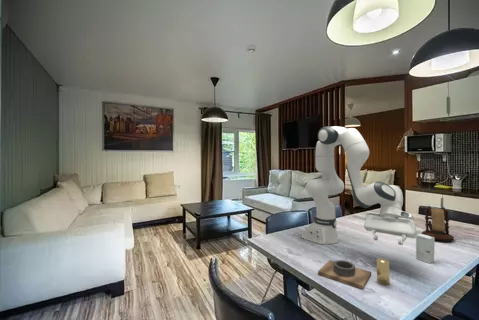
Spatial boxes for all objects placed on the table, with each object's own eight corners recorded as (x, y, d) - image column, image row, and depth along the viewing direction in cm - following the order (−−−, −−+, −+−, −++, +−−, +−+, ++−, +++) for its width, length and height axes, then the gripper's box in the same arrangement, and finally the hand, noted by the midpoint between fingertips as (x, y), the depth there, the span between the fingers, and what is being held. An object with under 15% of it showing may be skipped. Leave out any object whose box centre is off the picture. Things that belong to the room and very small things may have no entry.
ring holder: (318, 274, 99) (317, 264, 99) (329, 263, 109) (329, 254, 109) (362, 289, 87) (362, 278, 87) (371, 275, 97) (370, 264, 97)
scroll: (425, 241, 134) (424, 208, 134) (419, 233, 147) (418, 203, 147) (458, 244, 127) (457, 210, 127) (448, 236, 140) (447, 205, 140)
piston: (376, 282, 92) (375, 260, 92) (378, 278, 95) (377, 257, 95) (388, 286, 89) (388, 263, 89) (390, 281, 92) (390, 260, 92)
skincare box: (415, 258, 111) (415, 234, 111) (420, 257, 113) (420, 233, 113) (430, 264, 106) (429, 238, 106) (435, 262, 108) (434, 237, 108)
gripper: (364, 209, 112) (360, 233, 105) (416, 214, 98) (415, 243, 91) (367, 216, 115) (363, 240, 108) (417, 222, 102) (416, 250, 94)
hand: (387, 241), depth 99 cm, fingers open, 8 cm apart
